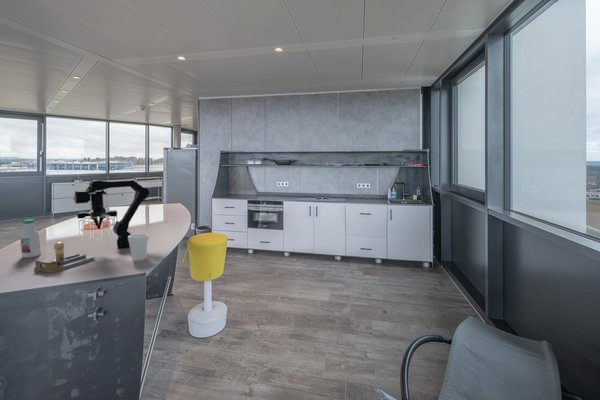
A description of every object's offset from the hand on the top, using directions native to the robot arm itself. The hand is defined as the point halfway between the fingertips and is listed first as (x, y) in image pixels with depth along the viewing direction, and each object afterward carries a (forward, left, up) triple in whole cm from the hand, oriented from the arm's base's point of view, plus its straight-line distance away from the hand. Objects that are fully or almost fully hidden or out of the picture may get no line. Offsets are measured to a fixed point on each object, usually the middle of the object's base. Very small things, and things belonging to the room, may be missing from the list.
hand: (99, 229), depth 176 cm
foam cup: (-20, +26, -13) cm, 35 cm away
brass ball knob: (+17, +24, -11) cm, 31 cm away
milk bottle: (+32, -4, -13) cm, 35 cm away
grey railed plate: (+13, +21, -13) cm, 28 cm away
